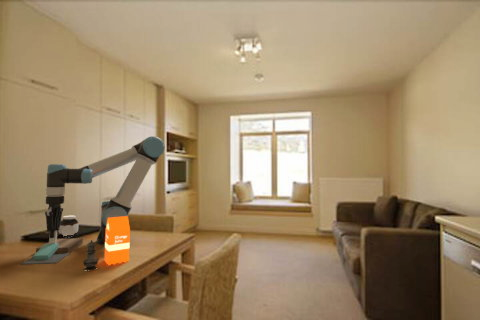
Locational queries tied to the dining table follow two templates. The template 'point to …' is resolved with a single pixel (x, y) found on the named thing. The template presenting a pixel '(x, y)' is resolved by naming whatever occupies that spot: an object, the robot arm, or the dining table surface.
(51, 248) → the card
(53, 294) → the dining table surface
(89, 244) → the black chess piece
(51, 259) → the mat
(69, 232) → the spread jar
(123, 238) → the orange juice
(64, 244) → the brown flat block
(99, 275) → the dining table surface
